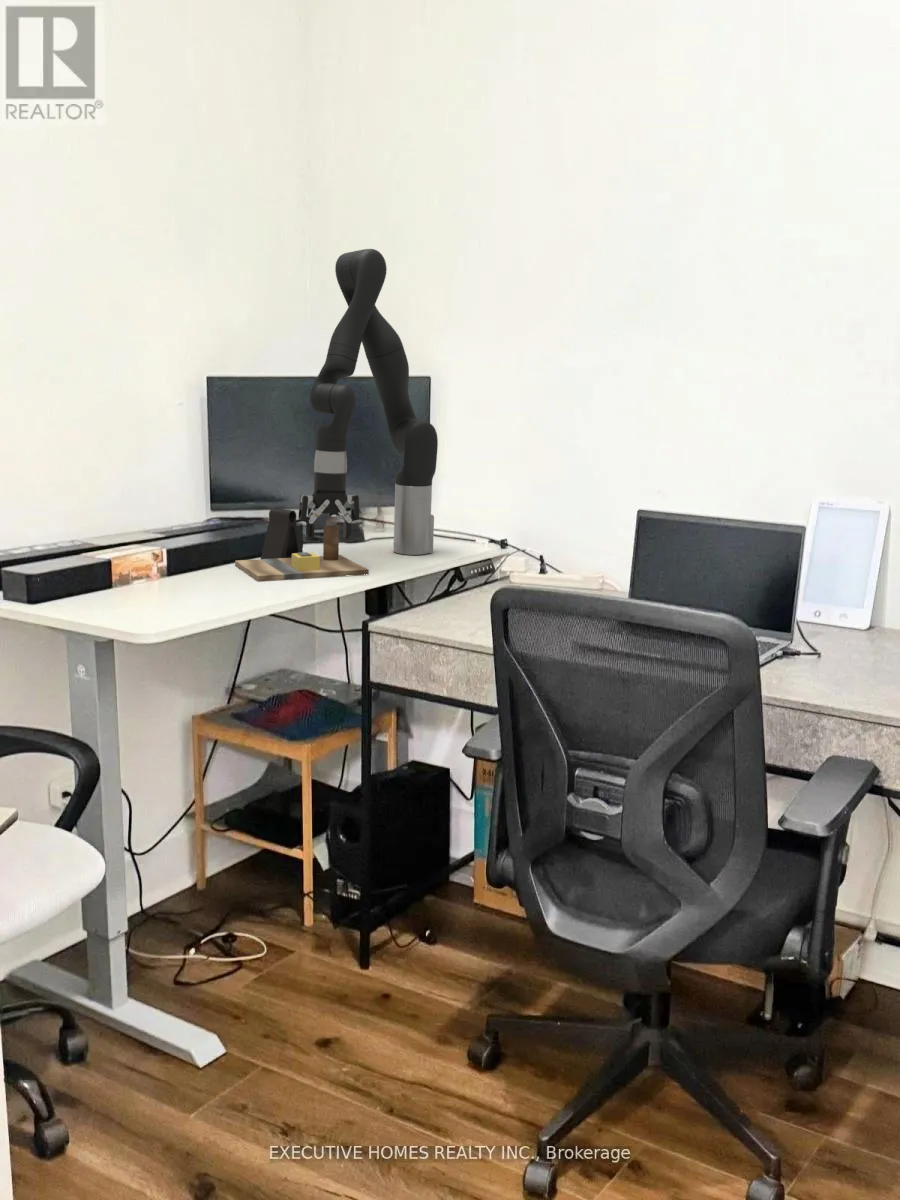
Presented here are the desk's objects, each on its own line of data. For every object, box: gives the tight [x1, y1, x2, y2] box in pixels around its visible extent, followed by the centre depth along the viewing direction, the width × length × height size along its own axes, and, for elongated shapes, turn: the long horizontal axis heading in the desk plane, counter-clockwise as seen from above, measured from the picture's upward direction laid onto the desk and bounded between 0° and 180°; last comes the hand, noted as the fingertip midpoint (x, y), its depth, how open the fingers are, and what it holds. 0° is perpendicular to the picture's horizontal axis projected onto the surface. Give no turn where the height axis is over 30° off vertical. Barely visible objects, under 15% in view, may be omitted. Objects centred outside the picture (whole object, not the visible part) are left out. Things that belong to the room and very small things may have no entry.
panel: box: [234, 554, 370, 582], centre depth 268 cm, size 26×18×1 cm
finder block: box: [292, 551, 321, 571], centre depth 264 cm, size 5×5×3 cm
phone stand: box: [260, 507, 304, 559], centre depth 279 cm, size 9×6×12 cm, turn 148°
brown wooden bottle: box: [322, 515, 340, 560], centre depth 275 cm, size 4×4×10 cm
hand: (328, 538), depth 275 cm, fingers open, 8 cm apart
